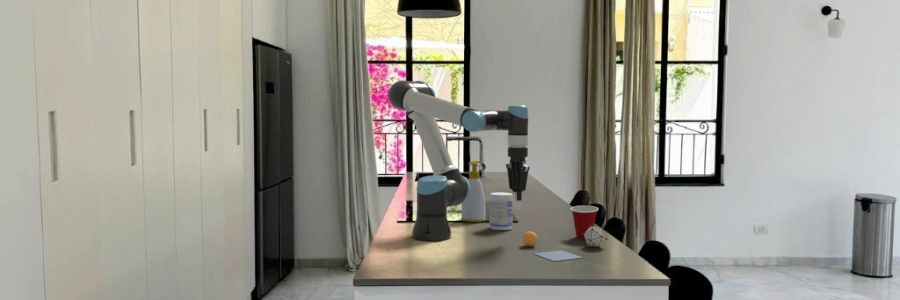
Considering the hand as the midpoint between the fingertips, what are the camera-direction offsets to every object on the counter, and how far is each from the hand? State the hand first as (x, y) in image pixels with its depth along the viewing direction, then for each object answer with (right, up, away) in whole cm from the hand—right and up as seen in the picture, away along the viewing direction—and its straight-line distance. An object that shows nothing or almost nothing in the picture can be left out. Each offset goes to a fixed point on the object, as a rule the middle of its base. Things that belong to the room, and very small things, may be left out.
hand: (517, 208), depth 256 cm
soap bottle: (-15, -9, +44) cm, 47 cm away
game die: (+28, -14, -7) cm, 32 cm away
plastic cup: (+27, -12, +9) cm, 31 cm away
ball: (+4, -10, -7) cm, 13 cm away
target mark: (+12, -14, -22) cm, 29 cm away
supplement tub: (-4, -11, +26) cm, 28 cm away
